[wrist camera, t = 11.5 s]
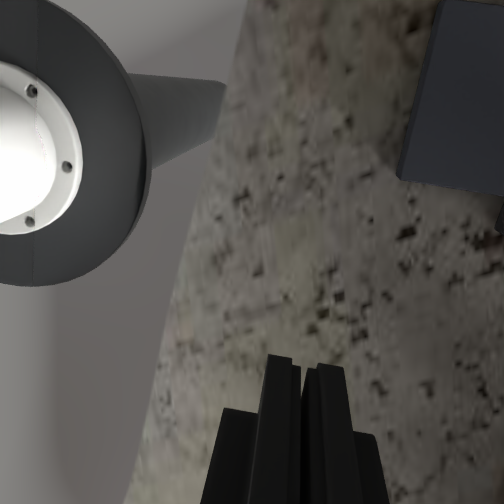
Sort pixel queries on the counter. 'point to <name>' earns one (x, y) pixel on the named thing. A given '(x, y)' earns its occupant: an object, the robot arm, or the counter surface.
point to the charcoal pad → (459, 103)
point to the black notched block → (500, 222)
